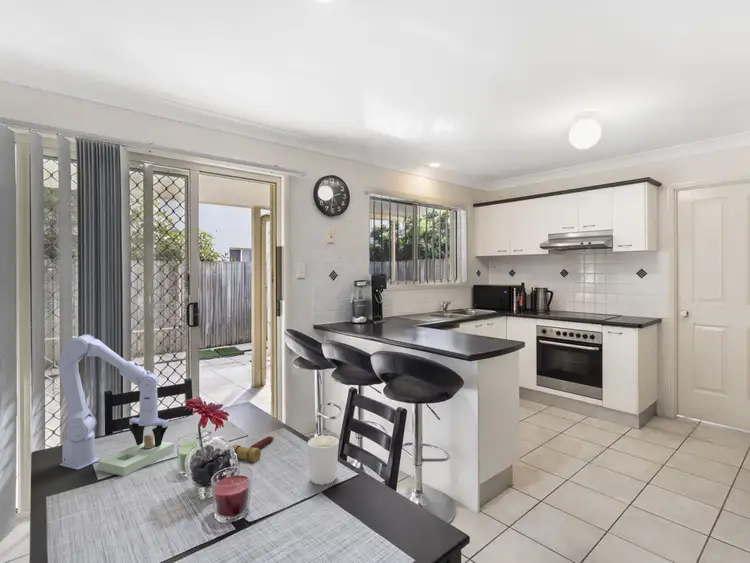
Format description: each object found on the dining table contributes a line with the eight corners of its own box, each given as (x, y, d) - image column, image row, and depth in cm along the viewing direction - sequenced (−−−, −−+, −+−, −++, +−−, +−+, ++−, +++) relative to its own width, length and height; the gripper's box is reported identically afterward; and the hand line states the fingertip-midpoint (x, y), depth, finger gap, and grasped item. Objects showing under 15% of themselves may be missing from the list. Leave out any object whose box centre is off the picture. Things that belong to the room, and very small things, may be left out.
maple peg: (141, 456, 148) (141, 437, 148) (148, 452, 151) (148, 433, 151) (149, 457, 147) (149, 438, 147) (156, 453, 150) (155, 434, 150)
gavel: (262, 429, 166) (284, 432, 163) (262, 441, 166) (284, 444, 162) (229, 447, 146) (253, 450, 143) (228, 460, 146) (253, 464, 143)
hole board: (98, 470, 137) (98, 461, 137) (149, 446, 156) (149, 438, 156) (124, 476, 133) (124, 467, 133) (173, 451, 152) (173, 443, 152)
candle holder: (317, 489, 125) (317, 450, 125) (302, 476, 133) (302, 440, 133) (344, 480, 131) (344, 442, 131) (329, 468, 139) (329, 433, 139)
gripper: (122, 410, 146) (122, 448, 146) (158, 412, 143) (158, 451, 144) (137, 403, 153) (137, 440, 153) (172, 406, 150) (172, 443, 150)
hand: (148, 445), depth 149 cm, fingers open, 7 cm apart
